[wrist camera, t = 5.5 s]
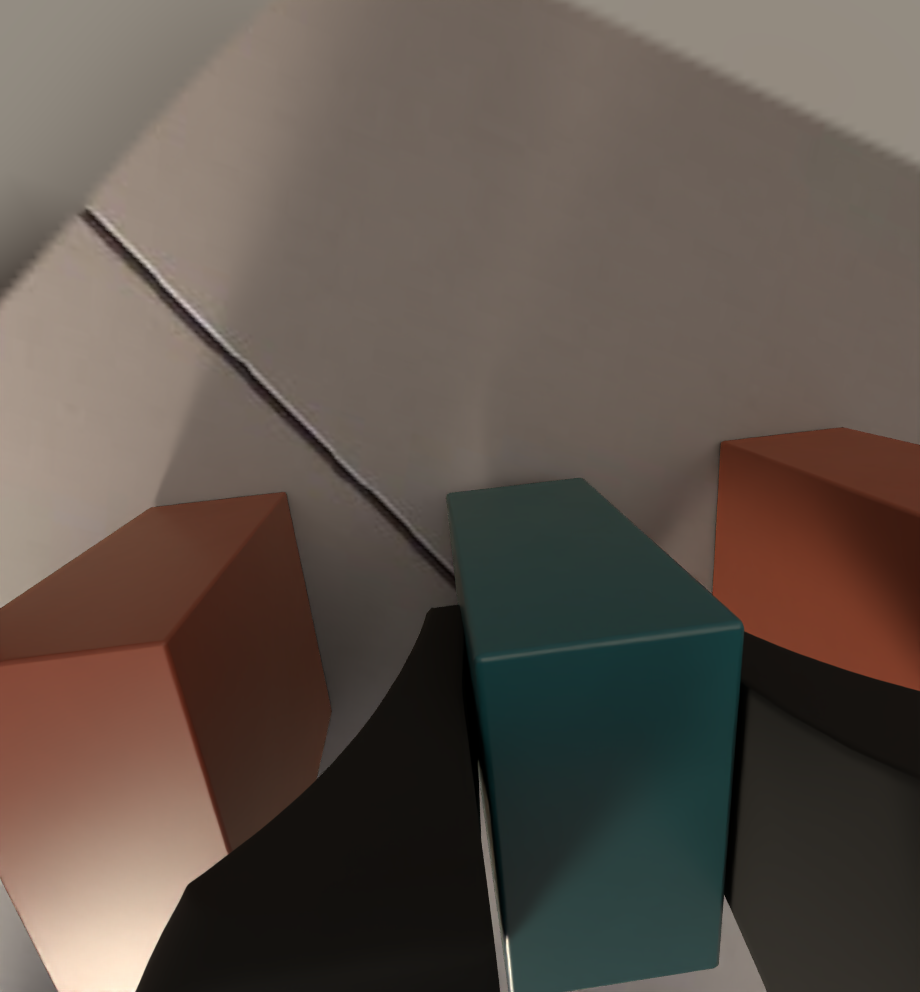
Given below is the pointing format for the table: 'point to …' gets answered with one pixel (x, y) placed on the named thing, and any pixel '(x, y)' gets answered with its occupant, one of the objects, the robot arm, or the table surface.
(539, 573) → the teal rectangular block
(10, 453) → the table surface
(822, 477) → the pair of orange blocks
